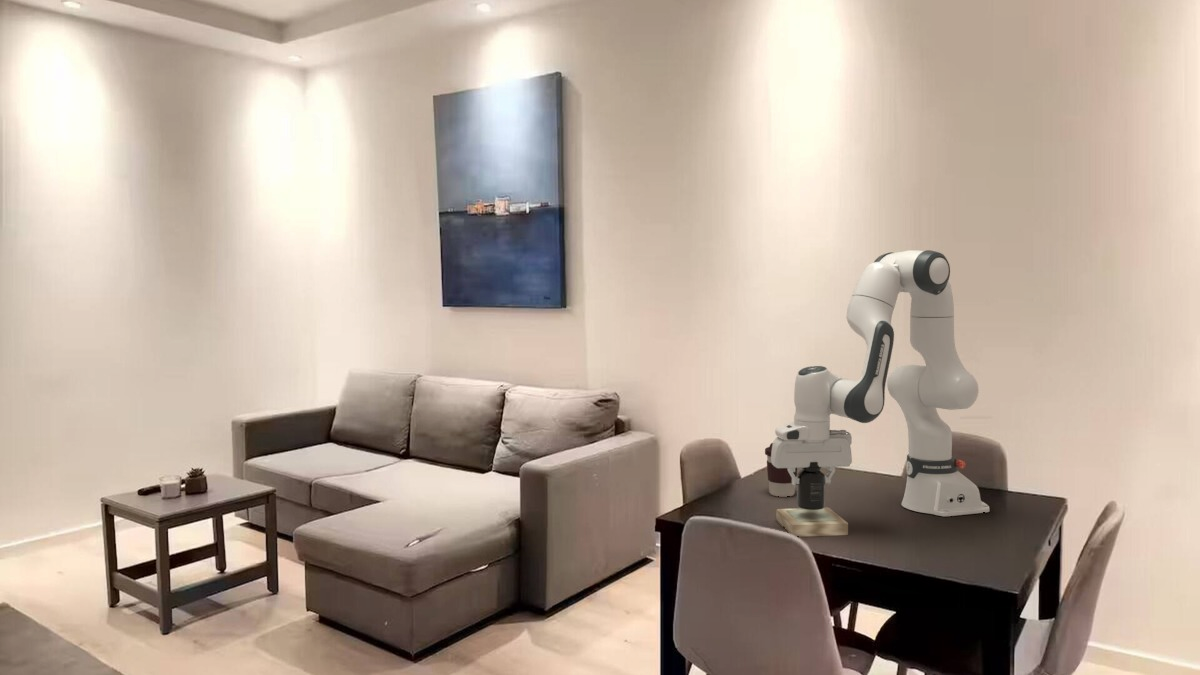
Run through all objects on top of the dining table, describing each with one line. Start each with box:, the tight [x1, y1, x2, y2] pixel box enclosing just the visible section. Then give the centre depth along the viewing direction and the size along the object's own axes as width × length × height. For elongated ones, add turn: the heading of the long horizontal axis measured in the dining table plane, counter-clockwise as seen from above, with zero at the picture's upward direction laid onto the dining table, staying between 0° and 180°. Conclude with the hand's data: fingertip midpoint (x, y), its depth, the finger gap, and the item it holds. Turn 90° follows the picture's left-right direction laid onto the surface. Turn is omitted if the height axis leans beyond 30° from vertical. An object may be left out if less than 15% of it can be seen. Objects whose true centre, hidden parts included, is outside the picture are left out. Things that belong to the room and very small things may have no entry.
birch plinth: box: [775, 506, 849, 538], centre depth 211 cm, size 14×14×3 cm
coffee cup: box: [764, 442, 798, 498], centre depth 243 cm, size 10×10×15 cm
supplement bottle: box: [796, 462, 826, 510], centre depth 210 cm, size 7×7×12 cm
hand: (811, 484), depth 210 cm, fingers closed on supplement bottle, 7 cm apart
